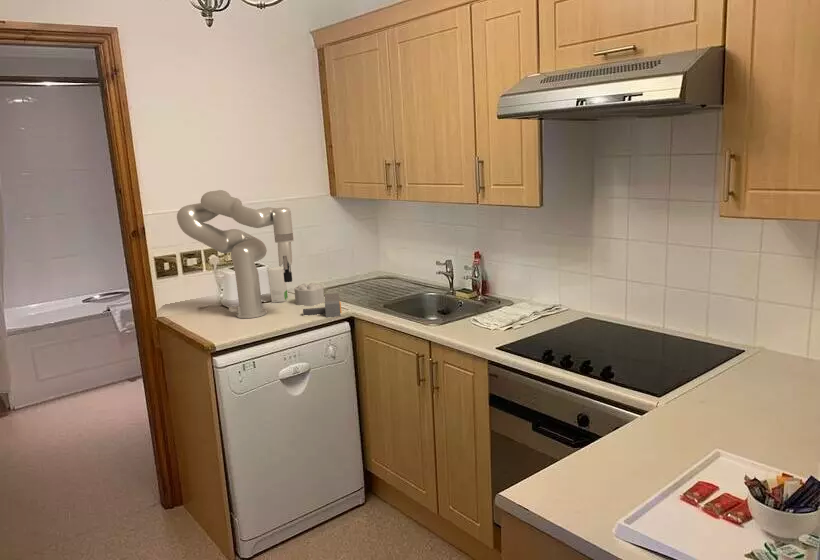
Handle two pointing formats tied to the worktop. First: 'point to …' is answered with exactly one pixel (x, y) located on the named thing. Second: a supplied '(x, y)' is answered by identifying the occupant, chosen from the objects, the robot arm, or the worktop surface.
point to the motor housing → (332, 305)
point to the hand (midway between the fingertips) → (288, 281)
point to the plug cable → (316, 311)
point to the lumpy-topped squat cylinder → (309, 294)
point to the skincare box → (277, 284)
